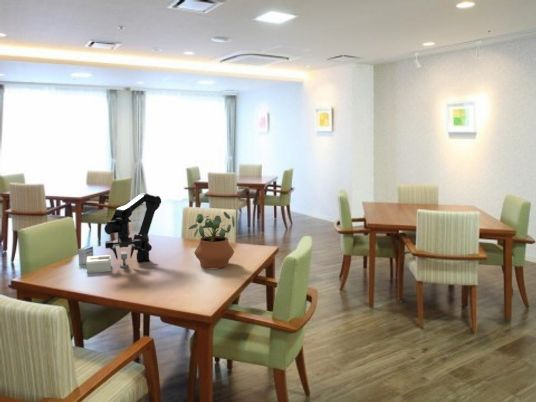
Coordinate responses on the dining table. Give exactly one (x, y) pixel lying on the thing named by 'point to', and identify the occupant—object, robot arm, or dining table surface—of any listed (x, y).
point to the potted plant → (213, 243)
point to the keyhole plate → (98, 263)
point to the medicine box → (85, 254)
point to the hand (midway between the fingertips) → (124, 258)
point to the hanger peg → (123, 257)
